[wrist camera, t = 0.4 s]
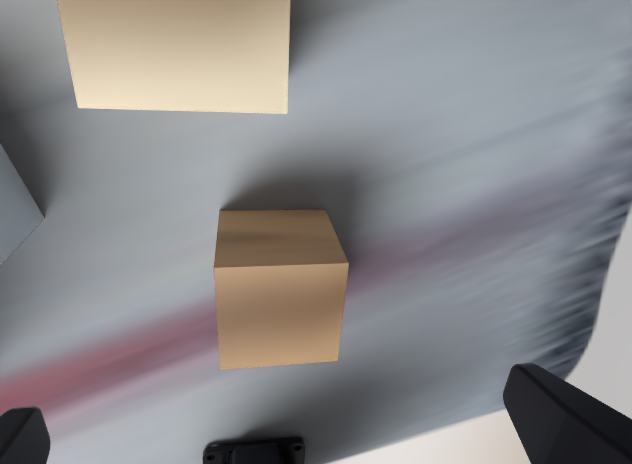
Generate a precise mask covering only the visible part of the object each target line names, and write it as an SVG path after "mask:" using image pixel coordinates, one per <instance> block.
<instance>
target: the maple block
mask: <svg viewBox="0 0 632 464" xmlns="http://www.w3.org/2000/svg"><path fill="white" fill-rule="evenodd" d="M57 5H58V10H59V15H60V20H61V25H62V30H63V35H64V40H65V45H66V50H67V55H68V60H69V65H70V70H71V75H72V80H73V85H74V90H75V95H76V100H77V105H78V108H94V109H131V110H167V111H203V112H239V113H275V114H287V103H288V67H289V31H290V0H57Z"/></svg>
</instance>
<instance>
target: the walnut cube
mask: <svg viewBox="0 0 632 464" xmlns="http://www.w3.org/2000/svg"><path fill="white" fill-rule="evenodd" d="M348 267H349V262H348V260H347V258H346V255H345V253H344V251H343V249H342V246H341V244H340V242H339V239H338V237H337V235H336V233H335V230H334V228H333V226H332V223H331V221H330V219H329V217H328V214H327V212H326V210H325V209H324V210H235V211H219V221H218V231H217V241H216V251H215V262H214V278H215V294H216V311H217V327H218V344H219V360H220V370H225V369H238V368H251V367H265V366H278V365H291V364H304V363H317V362H330V361H338V354H339V345H340V336H341V328H342V319H343V310H344V301H345V293H346V284H347V275H348Z"/></svg>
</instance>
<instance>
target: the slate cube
mask: <svg viewBox="0 0 632 464" xmlns="http://www.w3.org/2000/svg"><path fill="white" fill-rule="evenodd" d="M44 219H45V218H44V216H43V214H42V213H41V211H40V209H39V208H38V206H37V204H36V203H35V201H34V199H33V198H32V196H31V194H30V193H29V191H28V189H27V187H26V186H25V184H24V182H23V181H22V179H21V177H20V176H19V174H18V172H17V171H16V169H15V167H14V166H13V164H12V162H11V160H10V159H9V157H8V155H7V154H6V152H5V150H4V149H3V147H2V145H1V144H0V265H1V264H2V263H3V262H4V261H5V260H6V259H7V258H8V257H9V256H10V254H11V253H12V252H13V251H14V250H15V249H16V248H17V247H18V246H19V245H20V244H21V243H22V242H23V241H24V240H25V239H26V238H27V237H28V235H29V234H30V233H31V232H32V231H33V230H34V229H35V228H36V227H37V226H38V225H39V224H40V223H41V222H42V221H43V220H44Z"/></svg>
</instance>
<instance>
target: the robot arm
mask: <svg viewBox="0 0 632 464" xmlns="http://www.w3.org/2000/svg"><path fill="white" fill-rule="evenodd" d="M503 400H504V404H505V407H506V409H507V411H508V413H509V416H510V418H511V420H512V422H513V425H514V427H515V429H516V431H517V433H518V436H519V438H520V440H521V442H522V444H523V447H524V449H525V451H526V453H527V456H528V458H529V460H530V462H531V464H632V419H630V418H628V417H627V416H625V415H623V414H622V413H620V412H618V411H616V410H615V409H613V408H611V407H609V406H608V405H606V404H604V403H602V402H601V401H599V400H597V399H596V398H594V397H592V396H590V395H588V394H587V393H585V392H583V391H582V390H580V389H578V388H576V387H575V386H573V385H571V384H569V383H568V382H566V381H564V380H562V379H561V378H559V377H557V376H555V375H554V374H552V373H550V372H549V371H547V370H545V369H543V368H542V367H540V366H538V365H536V364H533V363H524V364H516V365H514V366H513V367H512V368H511V370H510V373H509V376H508V379H507V382H506V385H505V388H504V392H503ZM49 452H50V436H49V433H48V430H47V427H46V424H45V421H44V418H43V414H42V412H41V410H40V408H38V407H36V406H30V407H18V408H12V409H10V410H8V411H7V412H5V413H4V414H3V415H1V416H0V464H46V462H47V459H48V455H49ZM304 457H305V443H304V439H302V438H288V439H279V440H269V441H260V442H251V443H241V444H232V445H222V446H213V447H208V448H206V449H205V450H204V451H203V464H304Z"/></svg>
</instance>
